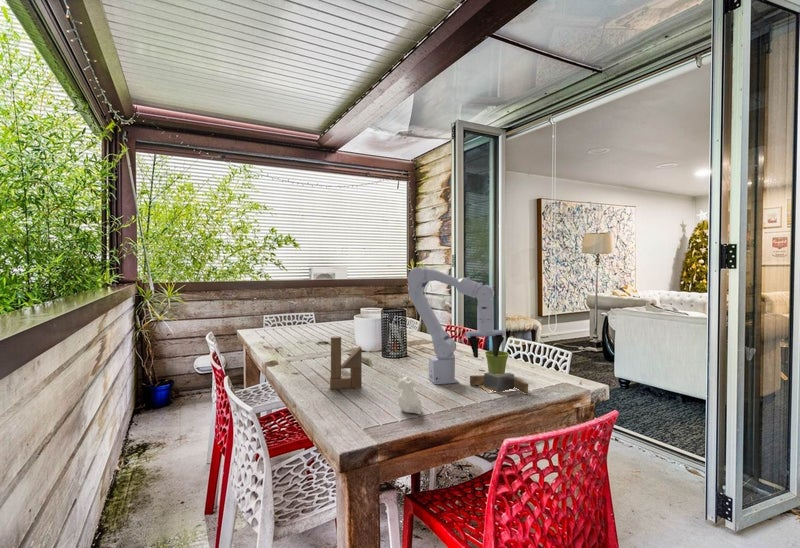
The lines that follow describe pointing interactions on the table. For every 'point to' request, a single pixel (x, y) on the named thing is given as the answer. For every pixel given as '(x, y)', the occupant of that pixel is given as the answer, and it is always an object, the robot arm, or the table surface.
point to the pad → (486, 388)
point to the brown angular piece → (352, 362)
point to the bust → (408, 396)
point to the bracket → (499, 381)
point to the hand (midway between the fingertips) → (485, 356)
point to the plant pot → (496, 362)
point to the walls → (480, 378)
